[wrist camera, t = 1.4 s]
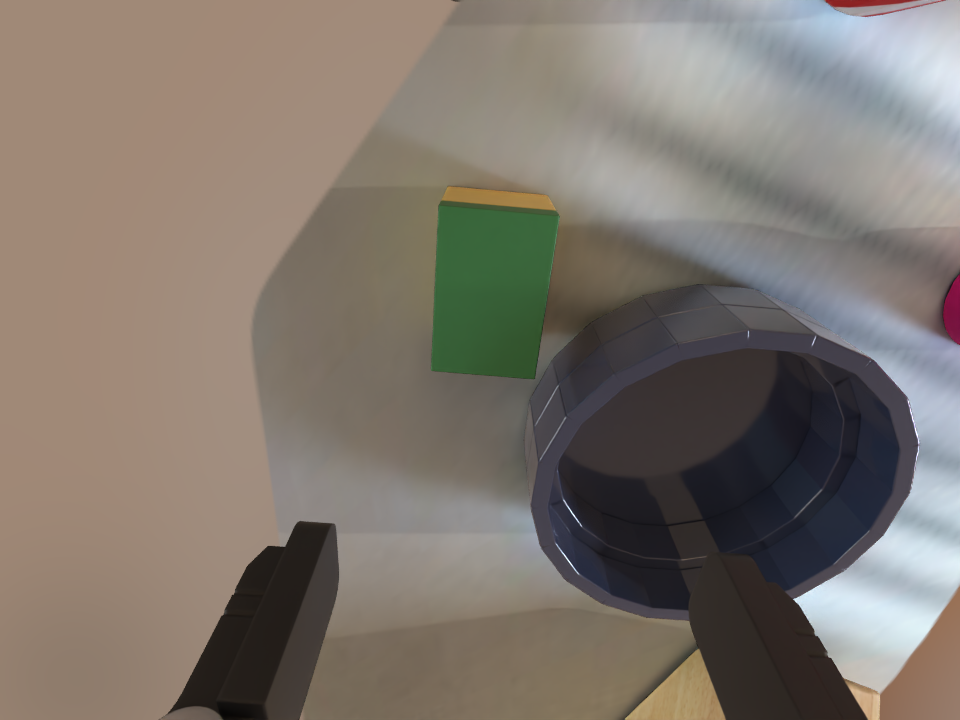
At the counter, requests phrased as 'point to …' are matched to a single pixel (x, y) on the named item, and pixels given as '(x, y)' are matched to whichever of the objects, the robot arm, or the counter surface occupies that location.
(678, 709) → the knife block
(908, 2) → the beverage can
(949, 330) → the pepper mill
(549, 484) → the bowl
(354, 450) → the counter surface
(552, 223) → the sponge
